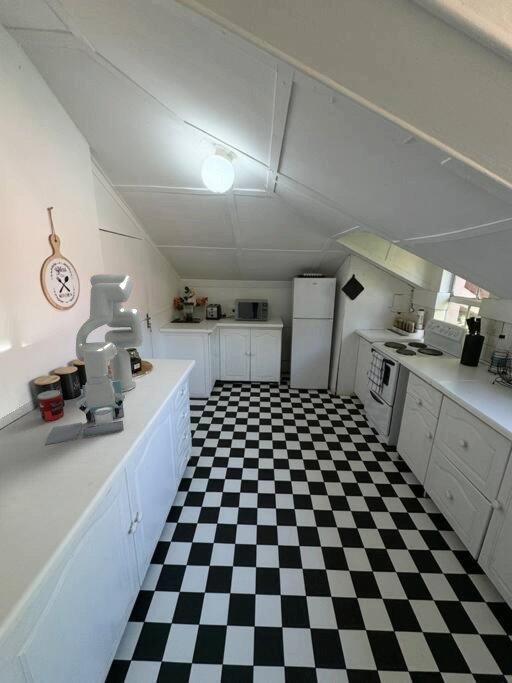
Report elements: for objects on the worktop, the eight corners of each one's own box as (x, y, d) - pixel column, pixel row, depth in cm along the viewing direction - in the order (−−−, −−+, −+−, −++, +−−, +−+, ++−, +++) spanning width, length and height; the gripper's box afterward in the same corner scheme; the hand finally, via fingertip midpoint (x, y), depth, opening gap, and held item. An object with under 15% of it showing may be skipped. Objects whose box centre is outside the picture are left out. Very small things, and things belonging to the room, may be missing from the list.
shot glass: (106, 431, 112) (104, 416, 111) (91, 429, 114) (89, 414, 112) (118, 422, 119) (116, 407, 117) (103, 420, 120) (101, 405, 118)
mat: (53, 428, 114) (53, 427, 114) (82, 423, 118) (81, 422, 118) (45, 445, 104) (45, 444, 104) (77, 439, 108) (77, 437, 107)
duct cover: (86, 414, 117) (86, 413, 118) (123, 408, 123) (123, 407, 124) (82, 385, 116) (82, 385, 117) (120, 380, 122) (120, 380, 122)
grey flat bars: (87, 422, 119) (86, 414, 118) (124, 415, 124) (123, 407, 123) (83, 437, 108) (81, 429, 107) (123, 430, 114) (122, 421, 113)
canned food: (45, 414, 125) (40, 391, 122) (66, 411, 127) (62, 388, 124) (39, 423, 118) (34, 399, 115) (62, 420, 120) (57, 396, 118)
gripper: (122, 372, 117) (127, 410, 121) (74, 378, 111) (80, 418, 115) (122, 378, 111) (126, 418, 115) (70, 385, 104) (77, 427, 108)
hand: (103, 418), depth 115 cm, fingers open, 9 cm apart
